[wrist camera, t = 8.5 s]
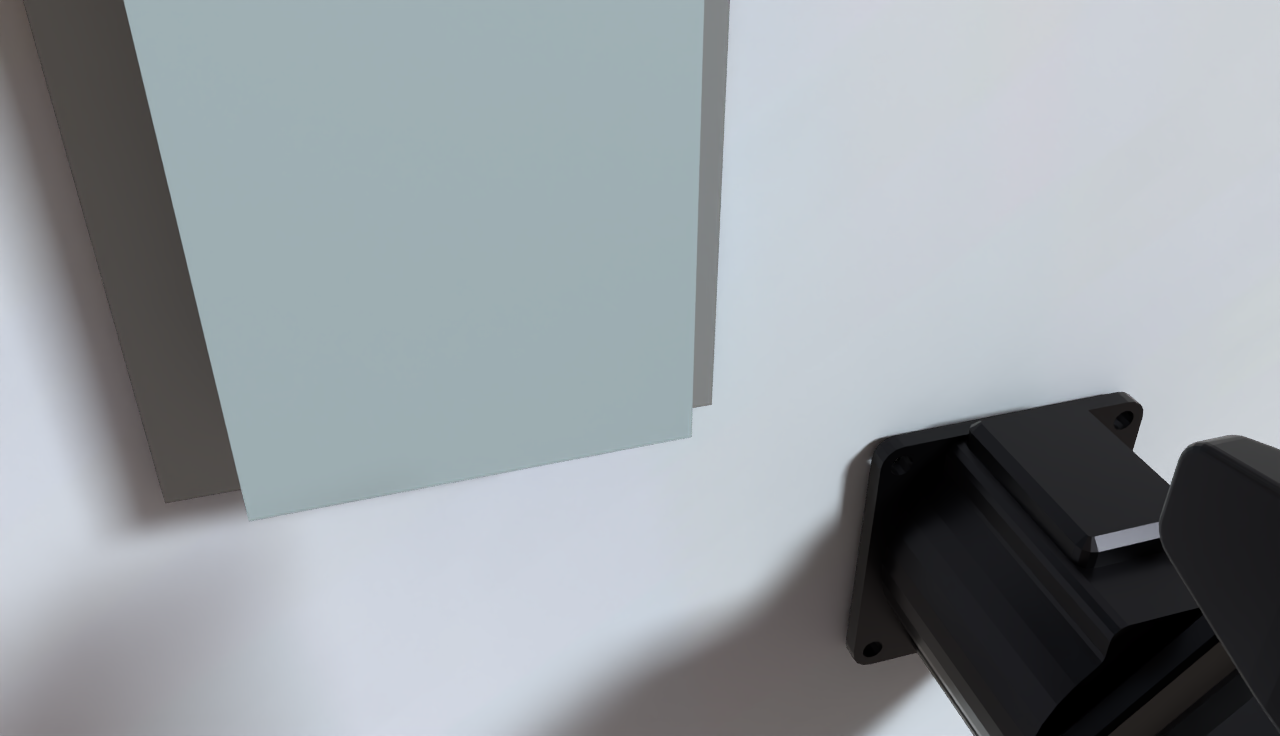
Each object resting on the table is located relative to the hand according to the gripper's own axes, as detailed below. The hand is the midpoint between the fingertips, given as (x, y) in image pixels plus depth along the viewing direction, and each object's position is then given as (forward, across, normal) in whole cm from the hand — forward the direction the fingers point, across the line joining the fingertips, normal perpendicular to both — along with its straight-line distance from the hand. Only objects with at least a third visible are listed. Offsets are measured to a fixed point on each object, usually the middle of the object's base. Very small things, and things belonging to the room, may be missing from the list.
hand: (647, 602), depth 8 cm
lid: (+12, 0, 0) cm, 12 cm away
